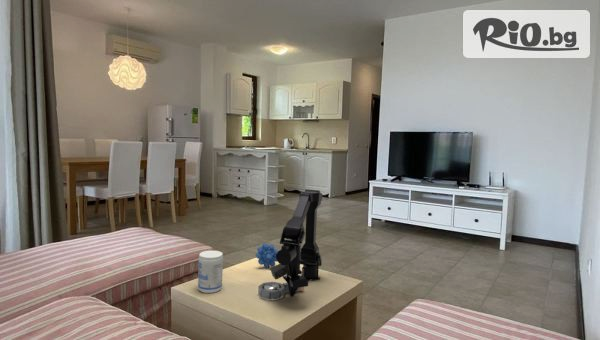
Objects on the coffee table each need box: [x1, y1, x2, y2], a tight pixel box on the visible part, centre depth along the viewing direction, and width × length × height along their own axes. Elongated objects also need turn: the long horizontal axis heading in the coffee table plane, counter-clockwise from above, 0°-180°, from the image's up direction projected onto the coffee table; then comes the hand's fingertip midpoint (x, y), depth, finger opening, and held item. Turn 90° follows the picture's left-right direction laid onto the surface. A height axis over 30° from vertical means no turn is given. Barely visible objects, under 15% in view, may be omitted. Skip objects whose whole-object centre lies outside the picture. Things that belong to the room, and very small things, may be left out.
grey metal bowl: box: [258, 283, 285, 302], centre depth 147 cm, size 10×10×4 cm
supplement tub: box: [197, 250, 224, 294], centre depth 151 cm, size 10×10×15 cm
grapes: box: [255, 242, 279, 268], centre depth 177 cm, size 12×7×12 cm, turn 114°
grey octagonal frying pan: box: [258, 281, 305, 299], centre depth 149 cm, size 18×10×3 cm, turn 111°
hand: (291, 296), depth 145 cm, fingers closed
